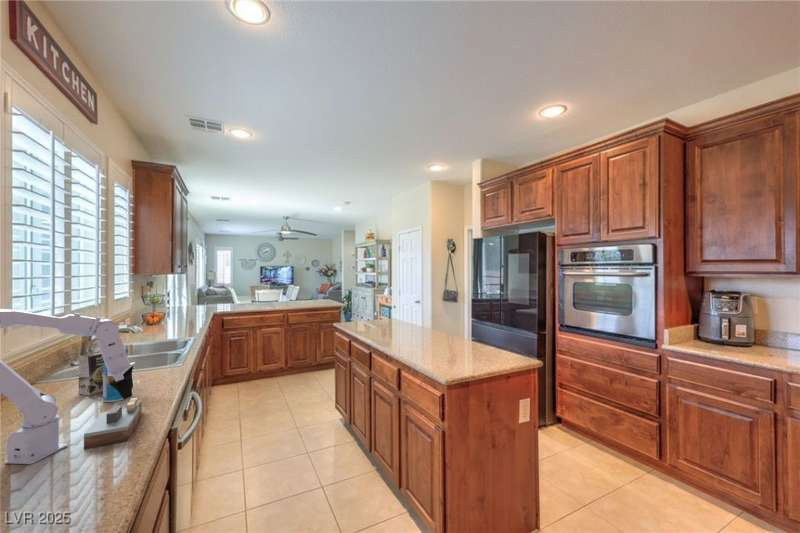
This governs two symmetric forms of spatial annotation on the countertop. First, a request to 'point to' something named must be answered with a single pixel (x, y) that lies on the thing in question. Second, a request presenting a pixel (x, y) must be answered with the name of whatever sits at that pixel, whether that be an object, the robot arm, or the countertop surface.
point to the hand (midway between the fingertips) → (128, 393)
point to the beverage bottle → (110, 387)
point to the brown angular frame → (113, 434)
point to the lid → (112, 421)
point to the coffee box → (91, 373)
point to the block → (132, 404)
